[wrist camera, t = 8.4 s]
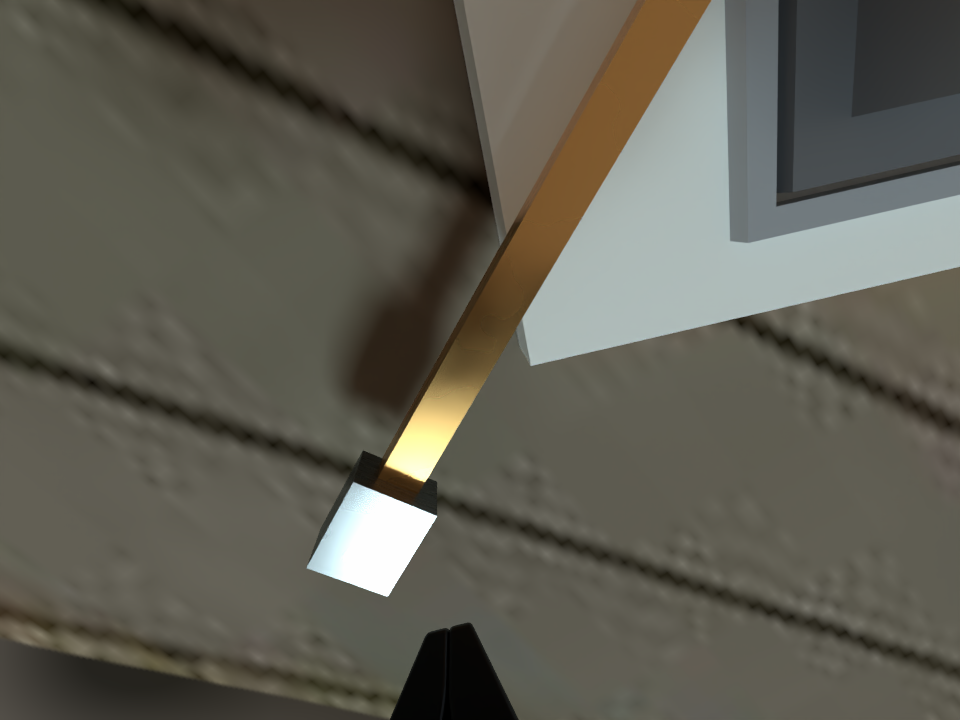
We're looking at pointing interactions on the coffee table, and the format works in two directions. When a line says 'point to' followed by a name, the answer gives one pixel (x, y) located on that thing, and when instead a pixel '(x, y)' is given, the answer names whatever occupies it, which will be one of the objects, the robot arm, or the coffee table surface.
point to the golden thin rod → (498, 306)
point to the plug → (865, 88)
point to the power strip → (684, 181)
